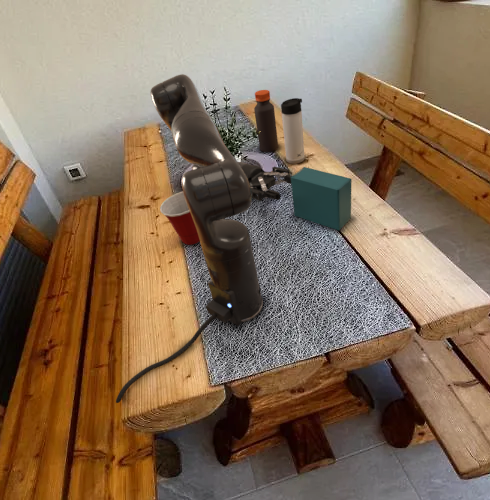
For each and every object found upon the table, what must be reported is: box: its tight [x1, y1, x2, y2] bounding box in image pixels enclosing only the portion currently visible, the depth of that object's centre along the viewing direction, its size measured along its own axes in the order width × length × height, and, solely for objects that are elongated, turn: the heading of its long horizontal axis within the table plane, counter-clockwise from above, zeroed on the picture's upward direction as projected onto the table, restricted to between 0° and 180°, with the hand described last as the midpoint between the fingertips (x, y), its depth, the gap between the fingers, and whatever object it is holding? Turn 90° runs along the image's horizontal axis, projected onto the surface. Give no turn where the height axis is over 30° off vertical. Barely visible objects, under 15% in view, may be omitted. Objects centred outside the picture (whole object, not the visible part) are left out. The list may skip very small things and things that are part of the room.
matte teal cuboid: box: [290, 166, 352, 231], centre depth 101 cm, size 6×14×12 cm, turn 50°
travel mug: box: [280, 97, 306, 165], centre depth 125 cm, size 6×7×20 cm
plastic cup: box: [159, 191, 200, 246], centre depth 101 cm, size 11×11×12 cm
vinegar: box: [253, 89, 279, 153], centre depth 135 cm, size 7×7×20 cm
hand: (288, 189), depth 106 cm, fingers open, 8 cm apart
